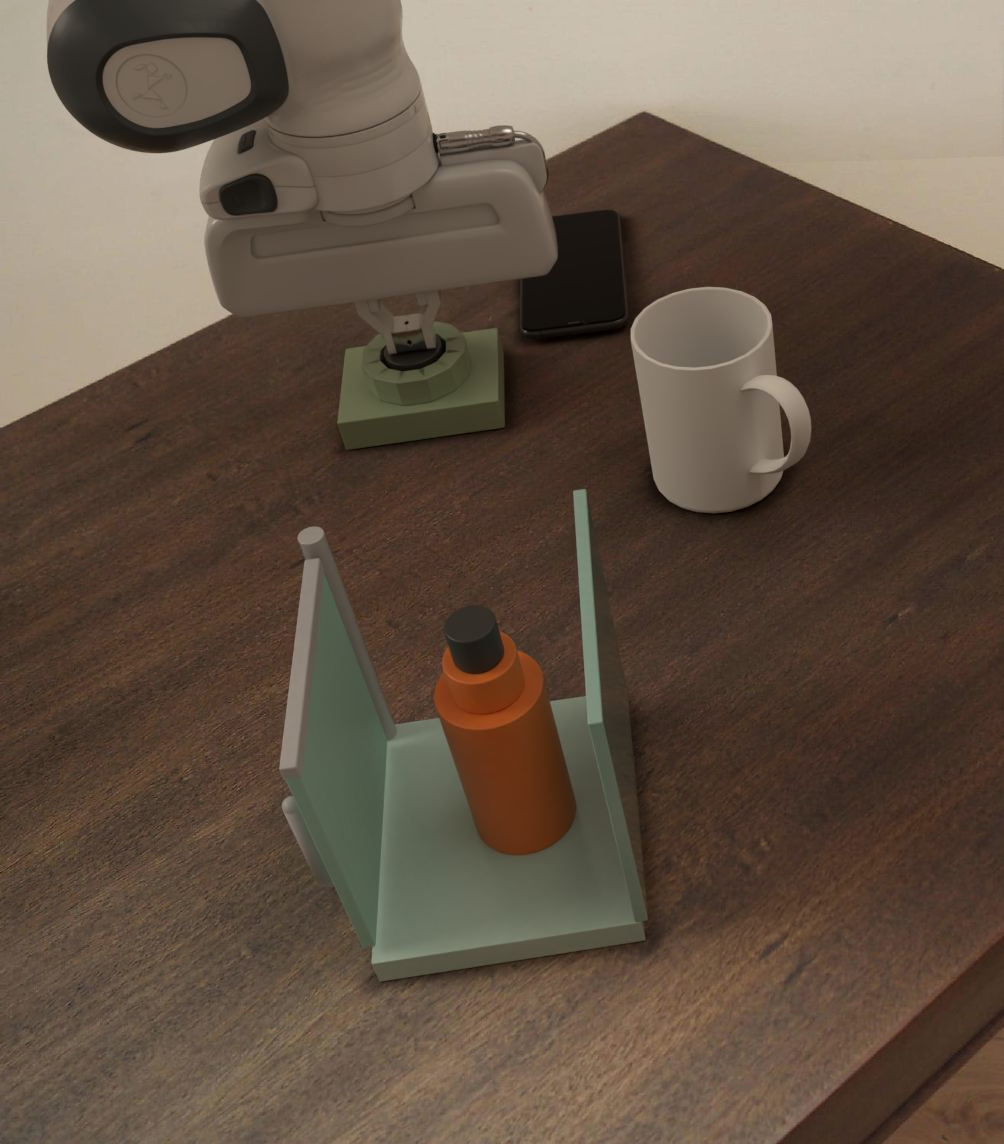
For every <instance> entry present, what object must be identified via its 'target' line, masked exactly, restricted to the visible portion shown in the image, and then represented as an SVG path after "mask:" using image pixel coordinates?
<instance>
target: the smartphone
mask: <svg viewBox="0 0 1004 1144" xmlns="http://www.w3.org/2000/svg"><path fill="white" fill-rule="evenodd" d="M552 219H553V223H554V227H555V232H556V238H557V247H558V258H557V261H556V262H555V264H554V266H553V267H552V269H551V270H550V272H549V273H548V274H546V275H544V276H538V277H531V278H524V279H519V305H518V308H519V332H520V334H521V336H523V338H525V339H527V340H540V339H549V338H550V339H551V338H559V337H566V336H571V335H572V336H573V335H581V334H589V333H597V332H603V331H604V332H605V331H612V330H617V329H620V328H623V327H624V326H626V325H627V324H628V323H629V319H630V313H629V312H630V311H629V301H628V299H629V297H628V284H627V278H626V277H627V276H626V266H625V256H624V255H625V254H624V243H623V242H624V241H623V231H622V218H621V215H620V213H619V212H618V211H616V210H615V209H597V210H590V211H581V212H575V213H574V212H573V213H566V214H558V215H552Z"/></svg>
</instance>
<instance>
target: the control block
mask: <svg viewBox="0 0 1004 1144" xmlns="http://www.w3.org/2000/svg"><path fill="white" fill-rule="evenodd" d="M433 324H434V328H435V332H436V336H437V337H438V338H439V339H440V341H441V344H442V348H443V352H444V354H443V355H442V356H441V357H440V358H439V360H438V361H437V362H435V363H433V364H431V365H428V366H426V367H424V368H422V369H417V370H410V371H398V370H393V369H388V367H387V363H386V360H385V357H384V350H385V347H386V343H385V340H384V337H383V334H380V333H378V334H376V335H375V336H374V337H373V338H372V339H371V340H370V341H369V343H367V344H366V345H364V346H356V347H350V348H349V347H348V348H346V349H345V351H344V359H343V368H342V377H341V387H340V394H339V402H338V403H339V405H338V412H337V421H336V422H337V427H338V429H339V434H340V436H341V438H342V439H341V440H342V441H343V445H344V448H345V450H346V451H351V450H357V449H363V448H373V447H377V446H384V445H392V444H399V443H400V444H401V443H406V442H407V443H408V442H412V441H413V442H414V441H420V440H428V439H434V438H435V439H436V438H443V437H448V436H455V435H464V434H469V433H470V434H471V433H476V432H477V433H478V432H483V431H484V432H485V431H491V430H497V429H504V428H506V417H505V415H506V414H505V413H506V410H505V409H506V407H505V353H504V350H503V345H502V342H501V336H500V332H499V328H498V327H493V328H486V329H478V330H472V331H464V332H462V331H460V330H459V329H458V328H456V327H455V326H454V325H453V324H451V323H446V322H441V321H436V320H434V322H433Z"/></svg>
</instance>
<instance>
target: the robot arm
mask: <svg viewBox="0 0 1004 1144" xmlns="http://www.w3.org/2000/svg"><path fill="white" fill-rule="evenodd" d="M403 17H404V16H403V5H402V1H401V0H48V5H47V10H46V65H47V70H48V75H49V78H50V81H51V85H52V88H53V89H54V92H55V93H56V96H57V97H58V99H59V101H60V102H61V104H62V105H63V107H64V108H65V109H66V111H67V112H68V113H69V114H70V116H72V118H73V119H75V120H76V121H77V122H78V123H79V125H81V126H82V127H83V128H85V129H86V130H87V131H88V132H90V133H91V134H93V135H94V136H96V137H97V138H99V139H100V140H103V141H105V142H106V143H109V144H111V145H113V146H116V147H118V148H121V149H124V150H127V151H128V150H129V151H133V152H137V153H143V154H170V153H176V152H180V151H183V150H187V149H191V148H194V147H196V146H199V145H202V144H205V143H208V142H211V141H212V142H211V145H210V146H209V148H208V150H207V153H206V156H205V158H204V161H203V164H202V167H201V170H200V171H201V172H200V177H199V186H198V187H199V189H198V190H199V194H198V195H199V201H200V204H201V205H202V208H203V210H204V212H205V214H206V215H207V220H206V226H205V230H204V235H203V244H204V252H205V257H206V262H207V267H208V270H209V274H210V275H209V276H210V278H211V279H210V280H211V282H212V285H213V288H214V291H215V294H216V297H217V299H218V302H219V304H220V306H221V307H222V308H223V309H225V310H226V311H228V312H229V313H231V315H234V316H235V317H237V318H239V319H247V318H248V319H249V318H254V317H261V316H269V315H276V314H281V313H282V314H283V313H288V312H296V311H303V310H310V309H311V310H312V309H317V308H326V307H331V306H332V307H333V306H338V305H346V304H354V307H355V311H356V314H357V316H358V317H359V318H360V319H361V320H363V321H364V322H365V323H367V324H368V325H369V326H370V327H371V328H373V330H375V331H376V332H377V333H378V334H383V337H384V340H385V343H386V347H387V350H388V353H389V354H390V355H391V354H397V353H398V354H399V353H405V352H411V351H417V350H425V349H432V348H436V332H435V328H434V324H433V322H434V321H435V319H436V317H437V314H438V311H439V309H440V306H441V303H442V291H444V290H452V289H458V288H467V287H473V286H480V285H488V284H494V283H502V282H508V281H516V280H520V279H524V278H531V277H538V276H544V275H546V274H548V273H549V272H550V270H551V269H552V267H553V266H554V264H555V262H556V261H557V258H558V247H557V238H556V232H555V227H554V223H553V219H552V216H553V215H552V212H551V209H550V205H549V202H548V200H547V197H546V193H545V192H544V189H545V188H546V186H547V184H548V181H549V168H548V163H547V157H546V153H545V149H544V147H543V145H542V144H541V142H540V141H539V140H538V139H537V138H536V137H535V136H534V135H532V134H530V133H528V132H525V131H523V130H522V131H521V130H514V127H513V125H508V124H507V125H505V124H504V125H503V124H501V125H493V126H489V128H485V129H478V130H475V129H473V130H470V129H469V130H468V129H467V130H457V131H450V132H440V133H435V132H434V131H433V125H432V122H431V121H432V120H431V117H430V113H429V110H428V109H429V108H428V105H427V102H426V97H425V93H424V89H423V85H422V81H421V78H420V74H419V72H418V69H417V68H416V66H415V64H414V63H413V61H412V60H411V58H410V56H409V54H408V52H407V49H406V46H405V43H404V40H403V39H404V37H403V21H404V19H403ZM408 295H409V296H410V295H414V297H415V300H416V304H417V306H420V307H421V308H420V311H419V312H417V313H411V314H403V315H394V314H393V313H392V312H391V311H390V310H389V309H388V308H387V307H386V306H385V305H384V304H383V303H382V302H381V299H382V300H383V299H387V298H396V297H403V296H408Z"/></svg>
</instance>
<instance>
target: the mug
mask: <svg viewBox="0 0 1004 1144" xmlns="http://www.w3.org/2000/svg"><path fill="white" fill-rule="evenodd" d="M774 339H775V338H774V328H773V320H772V314H771V312H770V311H769V309H768V307H767V306H766V304H765V303H763V302H762V301H760V300H759V298H757V297H756V296H753V295H752V294H749V293H747V292H744V291H741V290H737V289H732V288H729V287H719V286H718V287H717V286H703V287H702V286H701V287H693V288H687V289H683V290H679V291H675V292H672V293H669V294H667V295H665V296H663V297H660V298H657V299H655V301H653V302H651V303H650V304H649V305H647V306H646V307H644V308H643V309H642V310H641V311H640V313H639V314H638V315H637V316H636V317H635V318H634V321H633V323H632V326H631V328H630V344H631V351H632V356H633V362H634V367H635V373H636V374H635V375H636V380H637V386H638V392H639V399H640V404H641V411H642V417H643V424H644V429H645V436H646V441H647V447H648V453H649V459H650V466H651V471H652V472H651V473H652V477H653V481H654V484H655V485H656V488H657V489H658V491H659V492H660V493H661V494H662V495H663V497H665V498H666V500H668V502H670V503H672V504H674V505H676V506H677V507H679V508H681V509H684V510H688V511H691V512H694V513H704V514H722V513H728V512H729V513H731V512H734V511H738V510H742V509H744V508H748V507H750V506H752V505H754V504H756V503H758V502H761V501H763V499H764V498H766V497H768V495H769V494H771V493H772V492H773V491H774V490H775V488H776V487H777V485H778V484H779V482H780V481H781V479H782V476H783V473H784V471H785V470H787V469H789V468H790V467H793V465H795V464H797V463H798V462H799V461H800V460H801V459H802V458H803V457H804V456H805V455H806V452H807V450H808V447H809V445H810V442H811V437H812V420H811V419H812V418H811V414H810V410H809V406H808V405H807V403H806V400H805V398H804V396H803V395H802V393H801V392H800V390H799V389H798V388H797V387H796V386H795V385H794V384H793V383H792V382H791V381H789V380H787V379H786V378H784V377H781V376H778V374H777V373H778V372H777V363H776V352H775V340H774ZM780 407H781V408H782V409H783V411H784V414H785V415H786V418H787V419H788V424H789V428H790V436H791V437H790V445H789V446H790V447H789V450H788V453H787V455H785V454H784V453H785V452H784V443H783V442H784V441H783V440H784V439H783V432H782V431H783V429H782V419H781V408H780Z"/></svg>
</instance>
